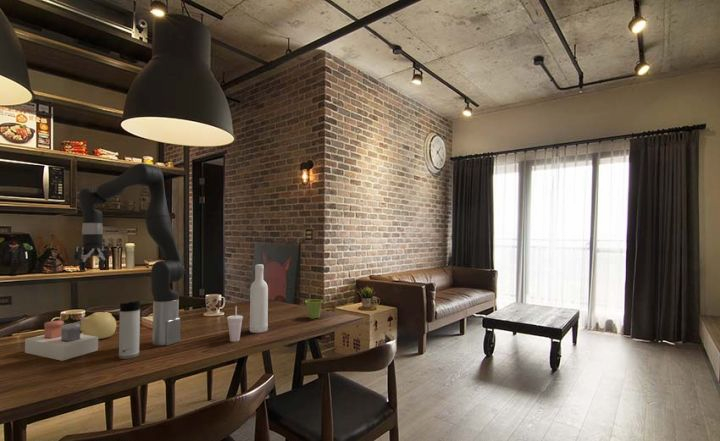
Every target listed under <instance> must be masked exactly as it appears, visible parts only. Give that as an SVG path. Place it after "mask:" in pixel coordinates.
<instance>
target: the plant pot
mask: <svg viewBox="0 0 720 441" xmlns="http://www.w3.org/2000/svg"><path fill="white" fill-rule="evenodd" d="M304 302H305V304H306V311H307V318H308V319H313V320H314V319H316V318H317V319H320V317H321V311H322V305H323V302H324V299H314V298H313V299H306V300H305V301H304Z"/></svg>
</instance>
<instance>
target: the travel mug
mask: <svg viewBox="0 0 720 441" xmlns="http://www.w3.org/2000/svg"><path fill="white" fill-rule="evenodd" d="M140 306H141V301H140V300H136V301H135V300H134V301H128V302H125V303H124V302H121V303H120V305H119V326H118V327H119V328H118V329H119V330H118V331H119V333H118V334H119V336H118V344H119V345H118V358H119V359H121V360H128V359H133V358H134V359H135V358H136V357H138V356H139V355H140V334H141V332H140V331H141V328H140V327H141V326H140V324H141V323H140V322H141V307H140Z"/></svg>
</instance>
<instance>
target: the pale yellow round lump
mask: <svg viewBox="0 0 720 441" xmlns="http://www.w3.org/2000/svg"><path fill="white" fill-rule="evenodd" d="M80 324H81V326H80V330H82V333H83V335H89V336H95V337H98V340H102V339H107V338H109V337H111V336H113V335H114V333H115V332H116V329H117V320H116V318H115V317H114V316H113V315H112V313H110V312H108V311H104V312H103V311H98V312H96V311H95V312H94V313H92V314H90V315H88V316H86V317H84V318H82V319H81V320H80Z"/></svg>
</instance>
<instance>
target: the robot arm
mask: <svg viewBox="0 0 720 441" xmlns="http://www.w3.org/2000/svg"><path fill="white" fill-rule="evenodd" d="M131 186H141V187H147V188H148V190H149V197H150V198H149V199H150V201H149V204H148V206H147V208H146V211H145V214H144V220H145V221H144V222H145V225H146V230H147V233H148V234H149V236H150V237H151V239H152V240H153V241H154V243H156V245H157V246H158V247H159V248H160V251H161V253H162V254H163V259H164V260H158V261H156V262H155V263H153V265H152V267H151V269H150V270H151V272H150V286H151V289H150V290H151V295H152V298H153V299H152V301H153V302H152V305H153V306H152V307H153V308H152V310H153V311H152V315H153V316H152V345H154V346H169V345H172V344H176V343H178V342H181V317H179V314H180V313H179V306H180V305H179V303H180V302H179V301H180V300H179V299H180V293H179V292H178V291H177V290H173V289H172V288H171V283H175V282H180V281H181V280H182V279H183V276H184V274H185V269H184V264H183V261H182V258H181V255H180V252H179V250H178V246H177V243H176V238H175V236H174V235H175V234H174V230H173V225H172V220H171V216H170V212H169V208H168V202H167V197H166V189H165V180H164V174H163V171H162V170H161V168H160V167H158V166H156V165H152V164H148V163H137V164H135V165H132V166H131V167H130V168H129V169H127V170H126V171H124V172H122V173H121V174H120V175H118V176H116V177H115V178H112V179H111V180H109V181H106V182H103V183H101V184H100V185H98V186H97V188H89V187H83V188H82V189H81V190H79V193H78V195H77V196H78V197H77V198H78V201H79V205H80V209H81V211H82V226H81V228H82V229H81V244H82V246H75V247H74V256H73V261H75V262H78V269H79V270H80V272H81V271H82V272H85V271H86V260H87V259H88V258H90V257H96V258H97V259H98V261H97V262H98V270H103V269H104V268H105V261H106V260H108V259H109V258H110V248H109V245H102V244H103V243H104V242H103V240H104V239H103V238H104V226H103V212H102V211H101V210H99V209H96V208H95V207H94V205H97V206H99V205H105V204H106V203H108V202H109V201H110V200H111V199H113V198H115V197H116V198H117V197H119V196H120V195H122V194H123V193H124V192H126V190H127V189H128V187H131Z"/></svg>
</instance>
